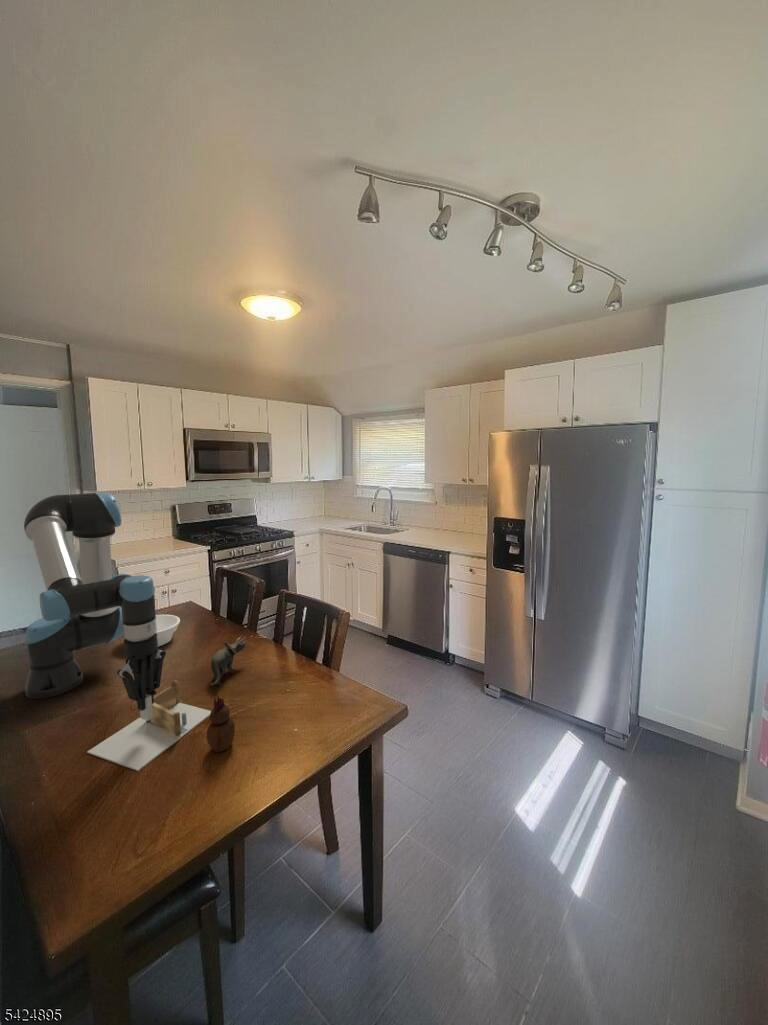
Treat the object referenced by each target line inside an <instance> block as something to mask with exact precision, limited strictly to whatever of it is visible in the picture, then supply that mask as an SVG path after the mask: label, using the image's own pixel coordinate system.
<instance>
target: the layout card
mask: <svg viewBox="0 0 768 1025" xmlns="http://www.w3.org/2000/svg"><path fill="white" fill-rule="evenodd" d="M169 710H171V711H173V712H175V713H177V712H179V713H180V724H181V735H179V736H176V735H175V734H173V733H171V732H169V731H167V730H165V729H163V728H161V727H160V726H158V725H156V724H154V723H152V722H149V723H147V722H146V720H144V719H141V716H140V717H138V718H137V719H135V720H134V721H132V722H130V723H129V724H128V725H126V726H124V727H123V728H121V729H120V730H118V731H117V732H115V733H114V734H112V735H111V736H109V737H107V738H106V739H105V740H102V741H101V742H100V743H98V744H97V745H95V746H93V747H92V748H90V749H89V750H87V751H86V752H87V754H89V755H92V756H94V757H98V758H100V759H103V760H105V761H108V762H112V763H114V764H117V765H119V766H123V767H125V768H128V769H131V770H134V771H137V772H140V771H141V770H142V769H143V768H145V767H146V766H147V765H148V764H150V763H151V762H152V761H153V760H155V759H156V758H157V757H158V756H160V755H161V754H162V753H164V752H165V751H166V750H167V749H169V748H170V747H171V746H173V745H174V744H175V743H177V741H179V740H180V739H181V738H183V737H184V736H186V735H187V734H188V733H189V732H191V731H192V730H193V729H194V728H196V727H197V726H198V725H199V724H201V723H202V722H204V721H206V719H208V718H210V713H211V710H210V709H209V710H208V709H205V708H200V707H197V706H194V705H190V704H186V703H183V702H180V701H179V703H177V704H175V705H174V706H172V707H171V708H169Z"/></svg>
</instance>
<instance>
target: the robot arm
mask: <svg viewBox="0 0 768 1025" xmlns="http://www.w3.org/2000/svg"><path fill="white" fill-rule="evenodd" d="M24 518H25V519H24V523H23V526H24V527H23V528H24V533H25V535H26V537H27V538H28V540H30V541H31V542H32V544H33V547H34V552H35V553H36V554H35V555H36V558H37V562H38V564H39V567H40V571H41V575H42V580H43V581H44V585H45V589H46V590H45V591H42V592H40V594H39V608H40V611H41V617H42V618H39V619H36V620H35V621H34V622H31V623H30V624H29V625H28V626H27V627H26V630H25V643H26V647H27V656H28V665H29V673H28V675H27V680H26V684H25V685H24V694H25V696H26V697H27V698H29V699H32V700H41V699H49V698H52V697H57V696H60V695H62V694H66V693H68V692H70V691H72V690H74V689H76V688H77V687H78V686H79V685H81V684H82V682H83V681H84V675H83V672H82V669H81V668H80V666H79V664H78V662H77V661H76V659H75V652H79V651H81V650H85V649H89V648H92V647H96V646H99V645H103V644H109V643H110V642H114V641H116V640H119V639H121V637H122V636H123V638H124V639H123V642H124V653H125V655H126V659H125V665H124V667H123V668H122V669H118V670H117V674H116V675H118V676H119V677H120V678H121V681H122V682H123V683H122V684H123V685H124V688H125V691H126V693H127V694H126V695H127V696H128V699H129V700H132V701H135V702H137V703H136V704H137V710H139V711H140V712H139V713H140V715H139V716H140V717H141V719H144V720H147V721H149V720H150V719H152V718H153V711H152V704H153V703H154V696H155V695H157V689H159V688H161V687H160V686H161V679H162V672H163V664H164V659H165V657H166V654H167V652H166V651H165V650H160V649H158V647H157V646H158V640H157V633H156V631H157V626H156V615H157V614H156V599H155V598H156V597H155V591H156V588H155V585H154V579H153V578H152V577H151V576H149V575H143V574H142V575H133V576H132V575H130V574H127V573H119V574H118V573H117V574H116V575H114V576H112V575H113V574H112V570H113V569H112V550H111V549H112V547H111V538H112V537H113V536H114V535H115V534H116V528H118V527H120V526H121V525H122V515H121V511H120V507H119V505H118V502H117V500H116V498H115V497H114V495H112V494H111V493H109V492H89V493H88V492H86V493H84V492H83V493H73V494H54V495H50V496H48V497H45V498H43V499H41V500H40V501H38V502H36V503H35V504H33V506H32V507H31V508H30V509H29V511H28V512H27V514H26V516H25V517H24ZM67 532H72V536H73V538H75V539H77V540H78V545H79V548H78V549H79V561H80V571H79V569H78V565H77V563H76V561H75V558H74V555H73V553H72V552H73V551H72V549H71V546H70V544H69V541H68V538H67V534H66V533H67ZM132 674H133V675H132Z"/></svg>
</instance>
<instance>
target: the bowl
mask: <svg viewBox="0 0 768 1025" xmlns="http://www.w3.org/2000/svg"><path fill="white" fill-rule="evenodd" d="M180 622H181V619H180V617H179V616H177V615H173V614H156V626H157V631H156V633H157V640H158V646H157V648H158V647H160V646H164V645H165V644H166V645H167V644H168V643H170V641H172V638H173V635H174V633H175V632H176V631H177V629H178V628H179V624H180Z"/></svg>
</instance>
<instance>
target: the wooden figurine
mask: <svg viewBox="0 0 768 1025" xmlns="http://www.w3.org/2000/svg"><path fill="white" fill-rule="evenodd" d="M210 711H211V713H210V716H209V721H210V722H211V723H210V724H209V725H208V726H207V729H206V741H207V744H208V745H209V748H210V749H211V750H212V751H213V752H214V753H215V752H216V753H221V752H224V751H226V750H228V749H229V748H230V746H232V744H233V742H234V739H235V733H236V732H235V730H236V729H235V728H236V727H235V722H234V720H233V718H232V717H230V713H231V711H230V708H229V705H226V704H225V700H224V698H222V697H219V696H217V699H216V697H213V708H212V709H211V710H210Z"/></svg>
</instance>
